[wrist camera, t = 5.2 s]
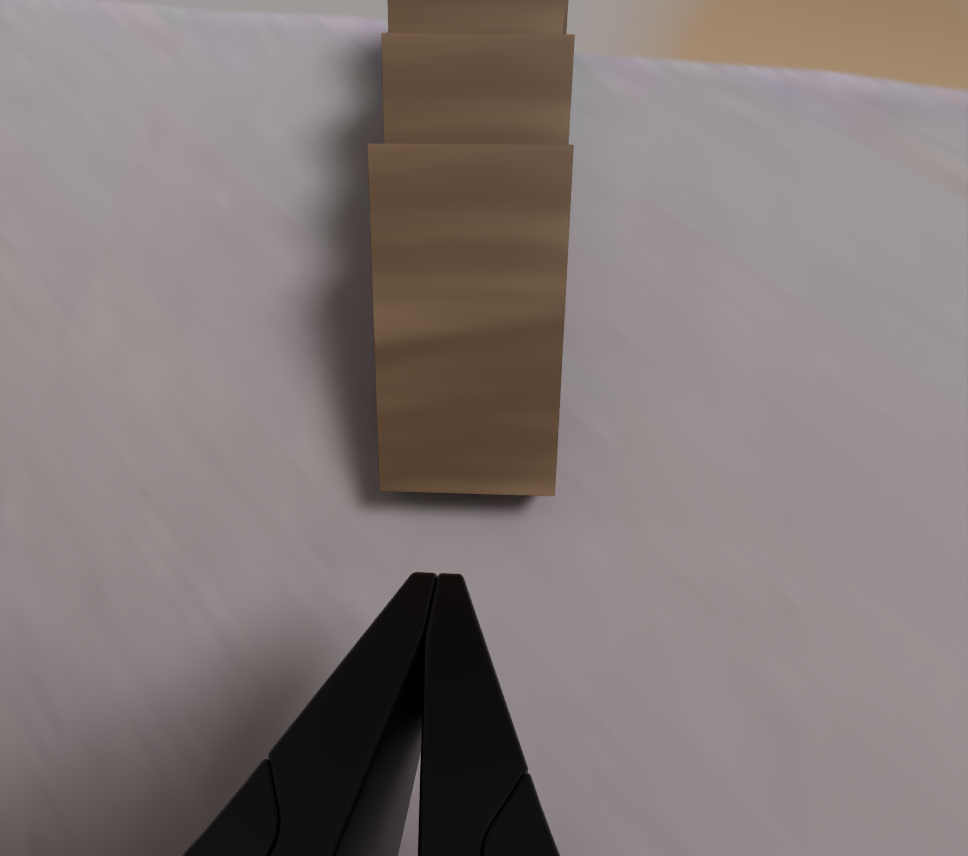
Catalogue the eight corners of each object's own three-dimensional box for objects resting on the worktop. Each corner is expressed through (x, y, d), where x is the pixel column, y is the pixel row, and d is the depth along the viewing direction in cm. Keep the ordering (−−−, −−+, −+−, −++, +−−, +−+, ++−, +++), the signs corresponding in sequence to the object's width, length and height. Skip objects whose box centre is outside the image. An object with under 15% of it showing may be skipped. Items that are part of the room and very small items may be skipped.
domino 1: (554, 496, 14) (573, 144, 12) (379, 491, 14) (367, 143, 12) (549, 477, 16) (565, 163, 14) (391, 472, 16) (382, 162, 14)
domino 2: (554, 382, 15) (574, 34, 13) (388, 377, 15) (381, 33, 13) (549, 374, 17) (566, 63, 14) (399, 370, 17) (394, 62, 15)
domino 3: (551, 282, 16) (567, -59, 14) (395, 280, 16) (385, -58, 14) (547, 285, 17) (560, -22, 15) (404, 282, 18) (397, -22, 15)
